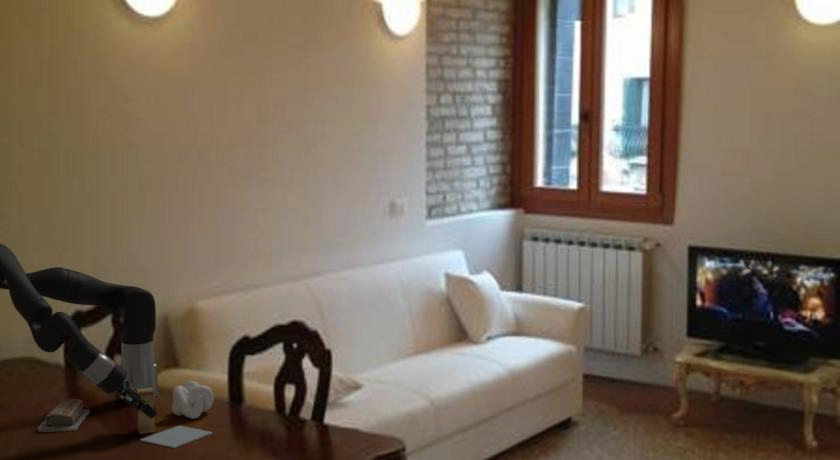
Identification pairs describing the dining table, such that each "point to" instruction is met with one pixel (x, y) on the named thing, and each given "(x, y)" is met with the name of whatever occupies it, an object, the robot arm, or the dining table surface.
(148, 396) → the oak block
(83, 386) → the dining table surface
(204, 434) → the felt mat
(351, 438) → the dining table surface
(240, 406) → the dining table surface
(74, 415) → the packaged product
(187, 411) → the white decorative knot
